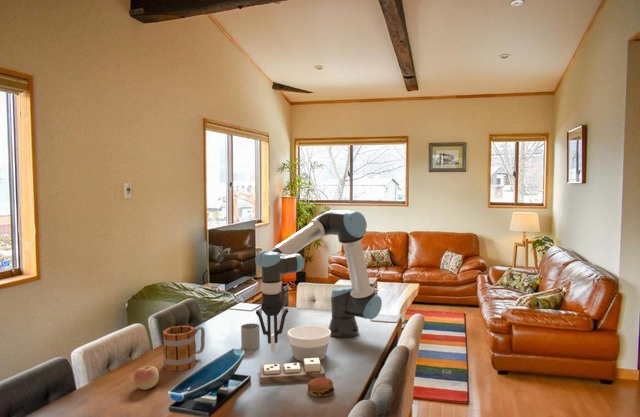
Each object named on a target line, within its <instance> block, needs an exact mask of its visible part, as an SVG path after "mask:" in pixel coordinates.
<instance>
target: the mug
mask: <svg viewBox="0 0 640 417" xmlns="http://www.w3.org/2000/svg"><path fill="white" fill-rule="evenodd" d="M198 331H200V333H201V334H200V348H199V350H196V349H197V344H196V335H197V333H198ZM205 333H206V331H205V328H204V327H203V326H197V327H195V328H194V326H192V325H177V326H170V327H169V326H168V327H167V328H165V329H164V330H162V336H163V346H162V349H163V367H164V369H165V370H166V371H169V372H182V371H188V370H190V369H192V368H194V367H195V366H197V360H196V357H197V356H196V355H198V354H201V353H203V351H204V350H205V349H204V348H205V344H206V343H205V335H206V334H205Z"/></svg>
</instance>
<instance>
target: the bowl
mask: <svg viewBox="0 0 640 417" xmlns="http://www.w3.org/2000/svg"><path fill="white" fill-rule="evenodd" d="M286 334H287V336H288V341H289V344H290V348H291V352H292V354H293V358H294V359H295V360H298V361H300V362H304V359H306V358H319V361H322V360H323V359H324V358H326V355H327V352H328V348H329V344H330V343H329V342H330V339H331V331H330V330H329V327H328V328H327V327H324V326H321V325H313V324H312V325H310V324H308V325H299V326H296V327H295V326H294V327H293V328H290V329H288V331H287V333H286Z"/></svg>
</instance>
